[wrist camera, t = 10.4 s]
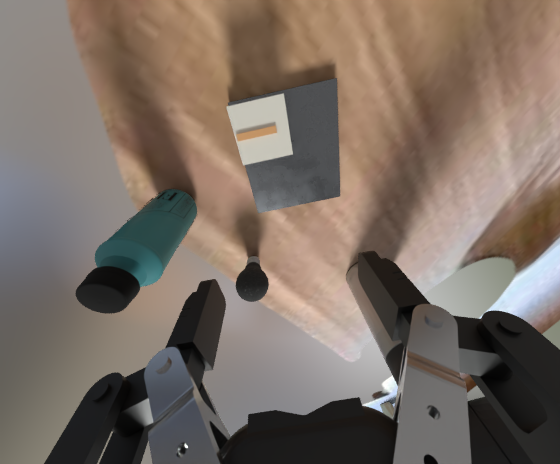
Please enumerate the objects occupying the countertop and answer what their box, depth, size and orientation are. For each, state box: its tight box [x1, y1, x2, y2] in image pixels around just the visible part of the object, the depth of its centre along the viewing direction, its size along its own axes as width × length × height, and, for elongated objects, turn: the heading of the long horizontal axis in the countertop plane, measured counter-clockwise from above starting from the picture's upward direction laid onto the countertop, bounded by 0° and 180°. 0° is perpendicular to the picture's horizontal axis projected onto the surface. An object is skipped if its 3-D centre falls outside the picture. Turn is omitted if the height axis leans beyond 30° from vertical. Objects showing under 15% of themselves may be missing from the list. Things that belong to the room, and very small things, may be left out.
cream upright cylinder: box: [380, 402, 394, 419], centre depth 86 cm, size 5×4×11 cm
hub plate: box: [228, 78, 340, 213], centre depth 28 cm, size 14×16×6 cm
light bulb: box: [236, 256, 269, 302], centre depth 37 cm, size 6×6×10 cm
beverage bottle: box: [76, 189, 197, 313], centre depth 25 cm, size 6×7×20 cm
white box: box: [227, 93, 293, 165], centre depth 25 cm, size 6×6×6 cm
